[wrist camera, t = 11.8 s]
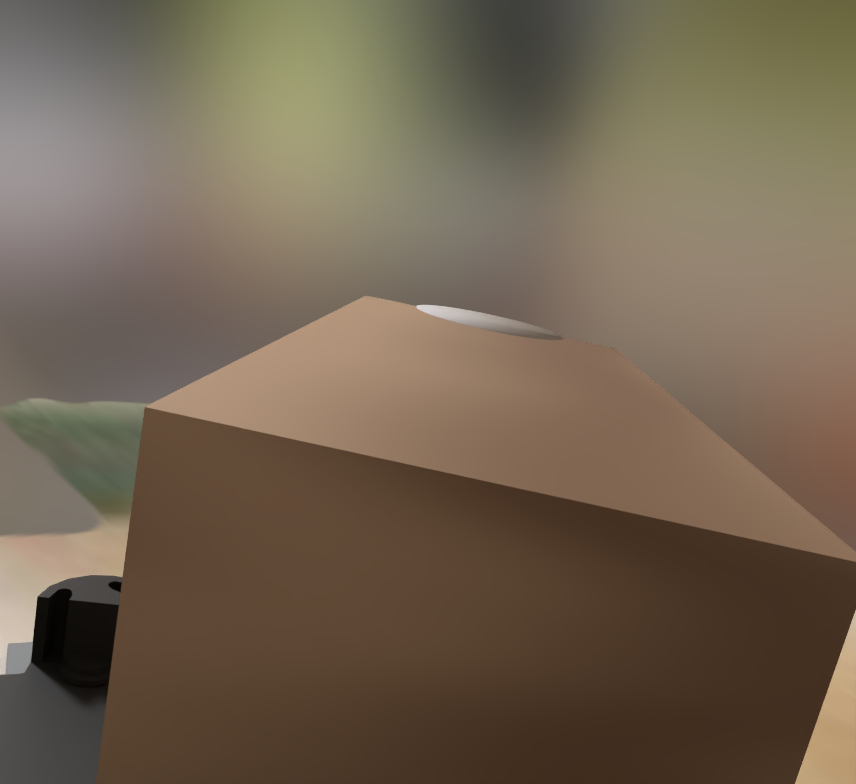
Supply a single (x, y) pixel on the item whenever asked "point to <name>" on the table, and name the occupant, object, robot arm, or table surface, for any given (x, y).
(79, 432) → the table surface
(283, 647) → the brown rectangular block
